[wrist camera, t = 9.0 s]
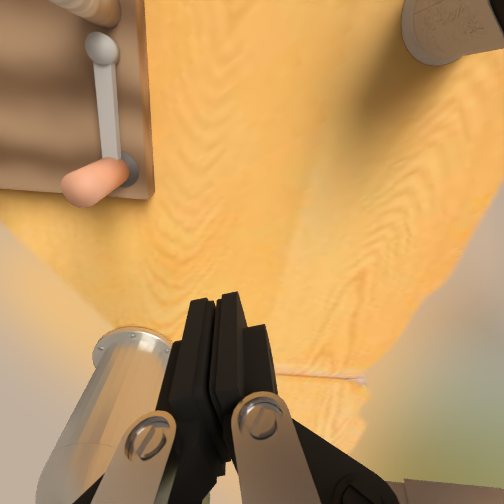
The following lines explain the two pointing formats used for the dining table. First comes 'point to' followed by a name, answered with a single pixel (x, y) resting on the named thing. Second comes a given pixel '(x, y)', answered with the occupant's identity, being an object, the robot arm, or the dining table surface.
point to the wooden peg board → (70, 93)
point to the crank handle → (112, 165)
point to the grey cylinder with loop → (451, 28)
